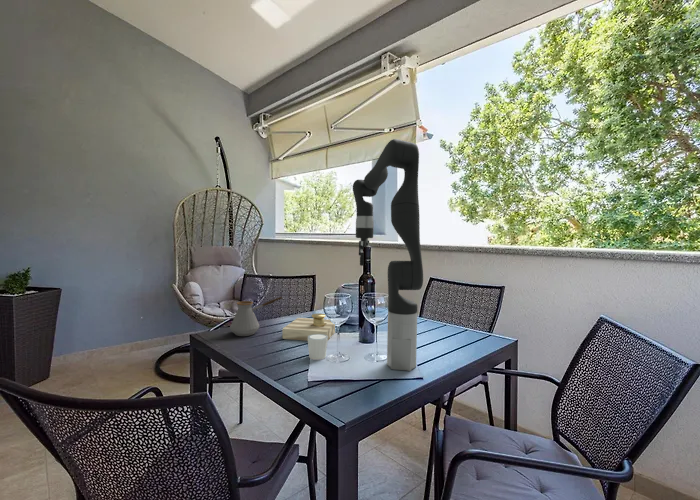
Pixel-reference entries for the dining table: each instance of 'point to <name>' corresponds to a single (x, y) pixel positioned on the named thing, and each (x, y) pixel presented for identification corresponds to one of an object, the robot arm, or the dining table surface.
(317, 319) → the bushing
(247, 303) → the coffee pot
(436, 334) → the dining table surface
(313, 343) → the shot glass
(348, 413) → the dining table surface
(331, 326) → the jig
